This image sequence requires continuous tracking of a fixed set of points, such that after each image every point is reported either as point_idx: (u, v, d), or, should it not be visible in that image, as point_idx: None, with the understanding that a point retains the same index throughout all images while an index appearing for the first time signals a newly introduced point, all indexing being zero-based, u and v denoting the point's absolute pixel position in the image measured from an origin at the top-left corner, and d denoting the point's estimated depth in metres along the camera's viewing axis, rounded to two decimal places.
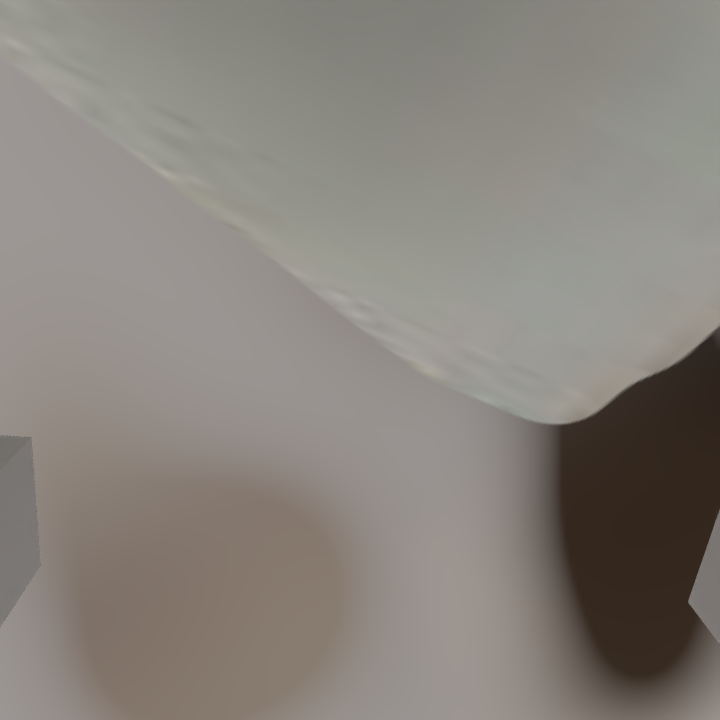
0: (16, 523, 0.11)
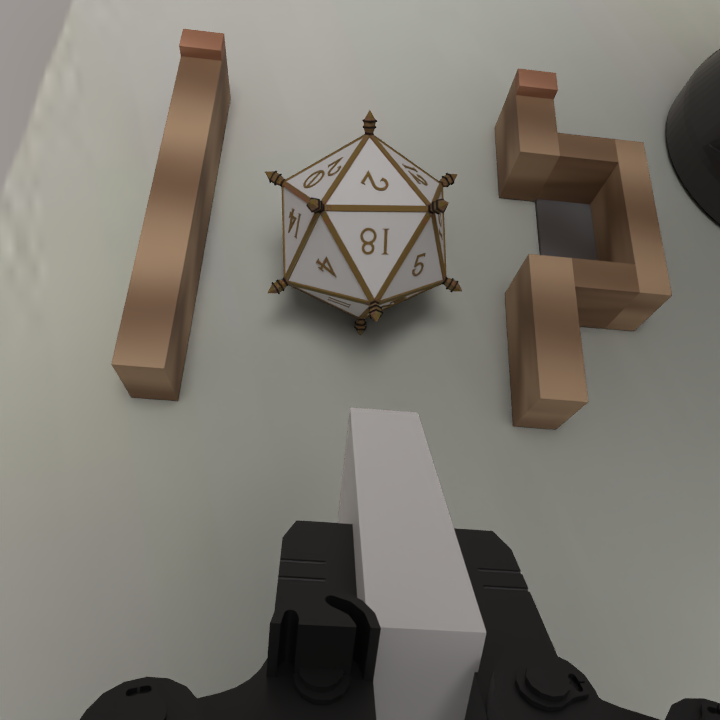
0: None
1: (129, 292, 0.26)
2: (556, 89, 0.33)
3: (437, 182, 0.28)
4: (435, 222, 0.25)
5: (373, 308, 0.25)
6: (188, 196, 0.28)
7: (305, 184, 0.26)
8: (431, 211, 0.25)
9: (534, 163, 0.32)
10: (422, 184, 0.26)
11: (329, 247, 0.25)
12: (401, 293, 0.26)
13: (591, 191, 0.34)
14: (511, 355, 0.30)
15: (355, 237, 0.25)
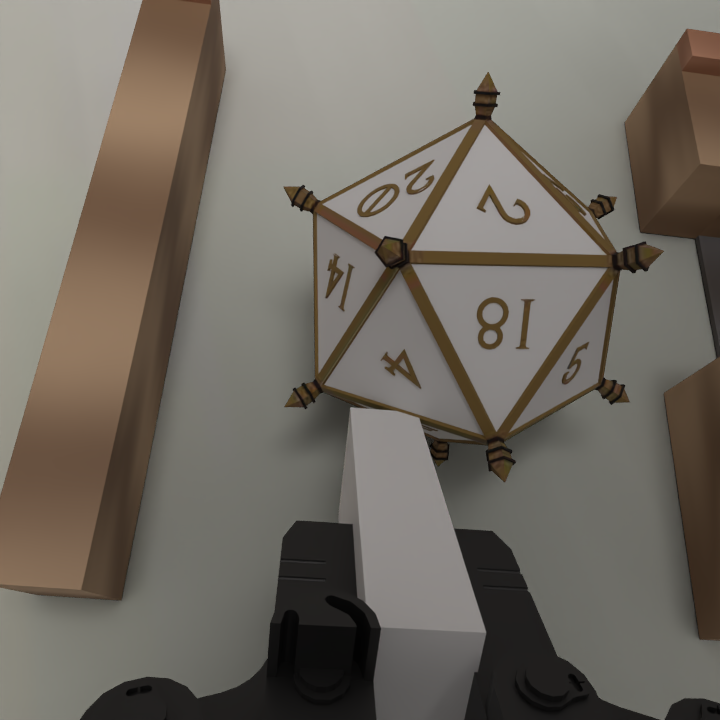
0: None
1: (24, 425, 0.14)
2: None
3: (587, 210, 0.16)
4: (617, 286, 0.13)
5: (497, 454, 0.13)
6: (145, 237, 0.16)
7: (360, 209, 0.14)
8: (618, 266, 0.12)
9: (716, 182, 0.20)
10: (580, 213, 0.14)
11: (411, 333, 0.13)
12: (539, 416, 0.14)
13: None
14: (689, 508, 0.18)
15: (466, 316, 0.12)
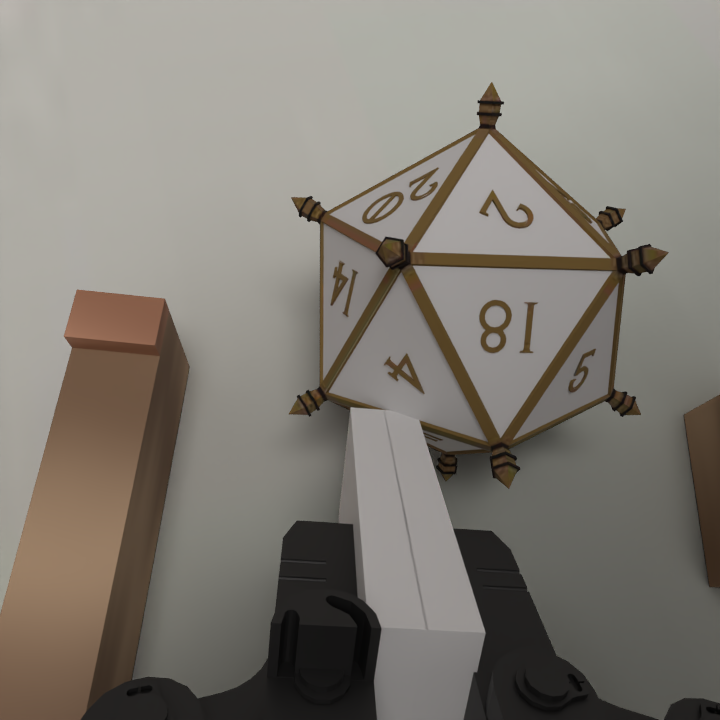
0: None
1: None
2: None
3: (594, 221, 0.16)
4: (622, 291, 0.13)
5: (501, 460, 0.13)
6: None
7: (366, 217, 0.14)
8: (623, 269, 0.12)
9: None
10: (586, 220, 0.14)
11: (413, 337, 0.13)
12: (545, 424, 0.14)
13: None
14: None
15: (468, 318, 0.12)
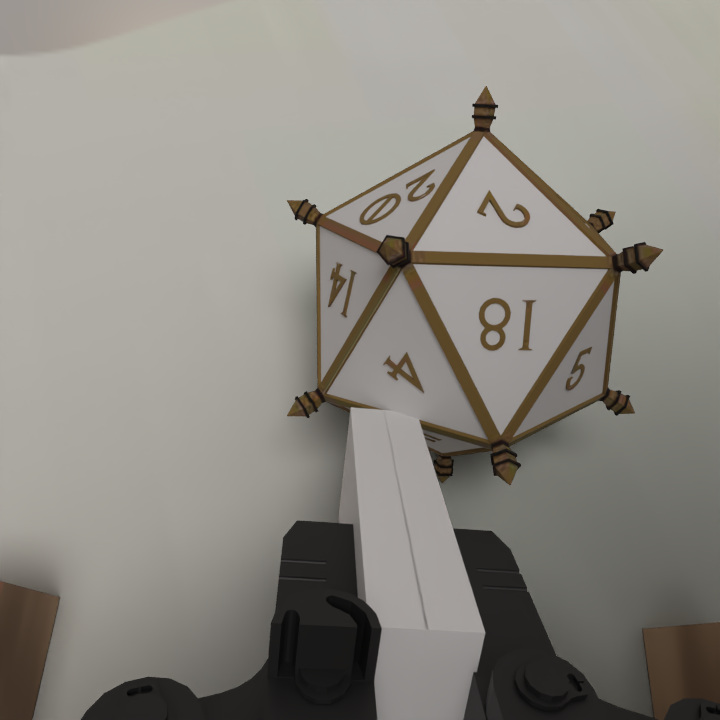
0: None
1: None
2: None
3: (586, 223, 0.16)
4: (618, 289, 0.13)
5: (501, 457, 0.13)
6: None
7: (363, 219, 0.14)
8: (619, 266, 0.12)
9: None
10: None
11: (413, 335, 0.13)
12: (543, 422, 0.14)
13: None
14: None
15: (468, 317, 0.12)
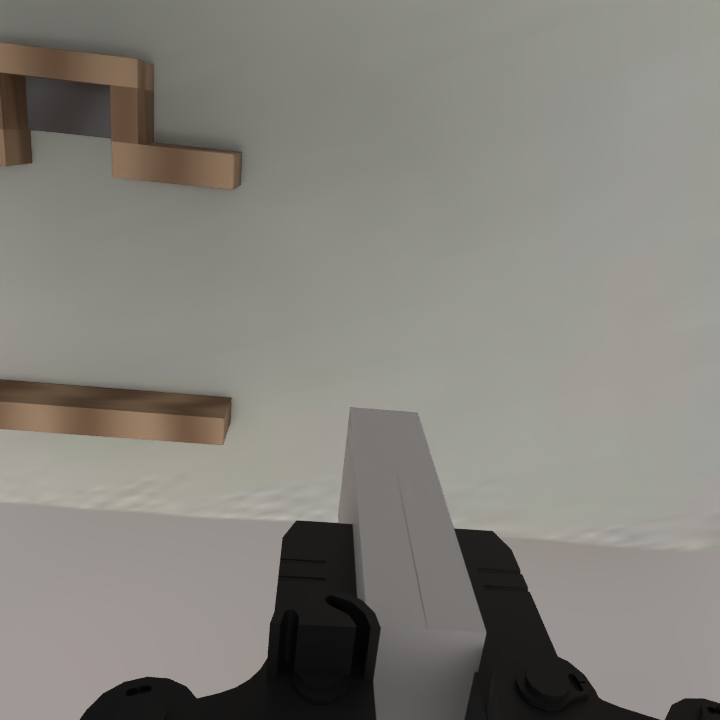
0: None
1: (175, 440, 0.44)
2: None
3: None
4: None
5: None
6: (97, 413, 0.43)
7: None
8: None
9: (10, 148, 0.37)
10: None
11: None
12: None
13: (18, 82, 0.38)
14: None
15: None
